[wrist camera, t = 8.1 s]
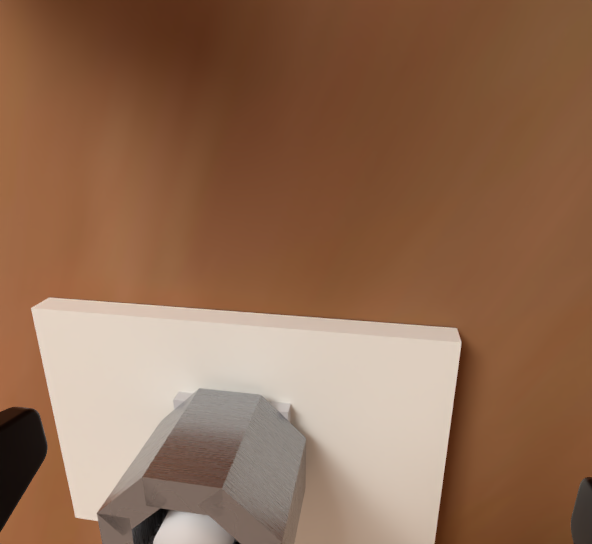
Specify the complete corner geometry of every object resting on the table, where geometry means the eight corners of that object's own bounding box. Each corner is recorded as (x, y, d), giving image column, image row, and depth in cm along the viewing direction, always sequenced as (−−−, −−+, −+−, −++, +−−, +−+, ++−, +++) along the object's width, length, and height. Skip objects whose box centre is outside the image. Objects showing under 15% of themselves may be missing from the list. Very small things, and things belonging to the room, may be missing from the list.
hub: (306, 399, 19) (281, 496, 14) (305, 520, 21) (283, 638, 16) (157, 383, 20) (88, 469, 15) (170, 500, 22) (114, 606, 17)
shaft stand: (457, 327, 19) (493, 441, 12) (428, 550, 23) (444, 719, 16) (49, 297, 22) (-86, 376, 15) (89, 499, 26) (-6, 626, 19)
